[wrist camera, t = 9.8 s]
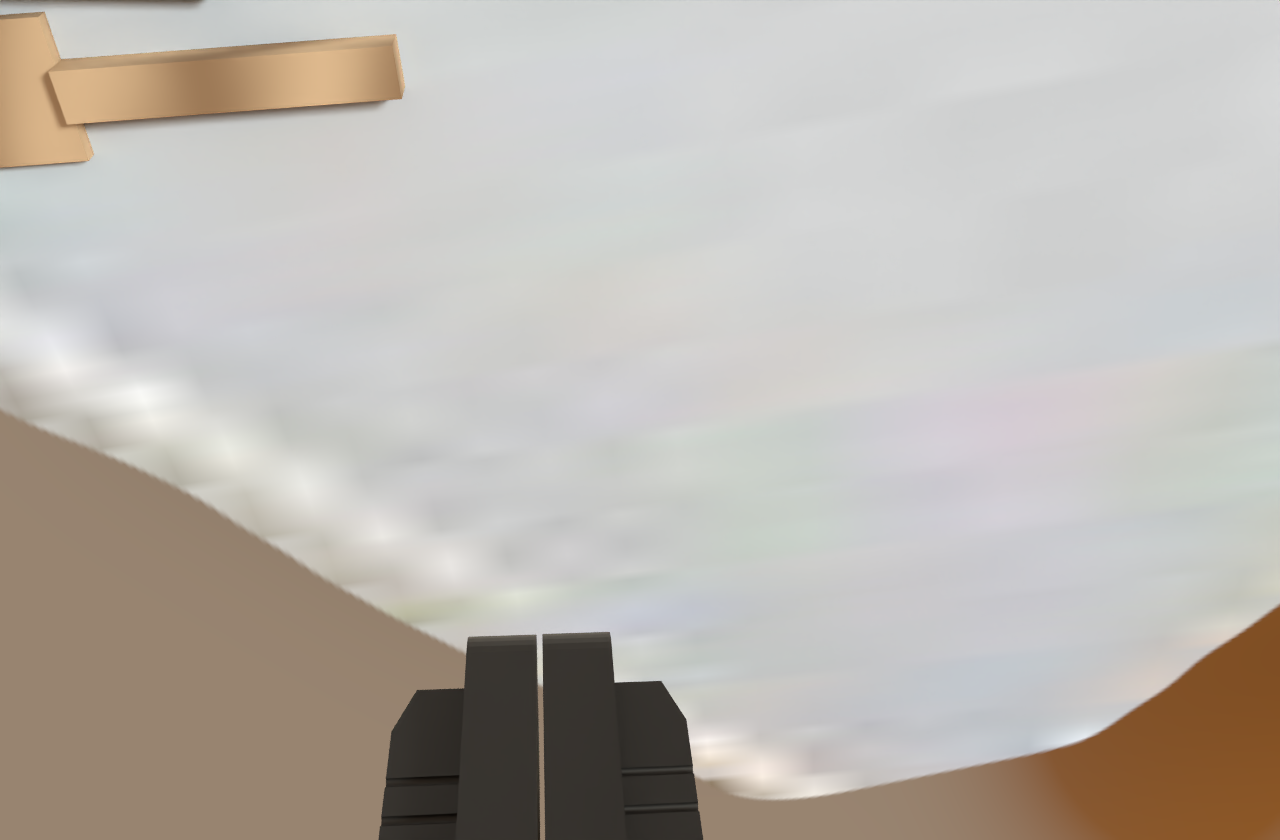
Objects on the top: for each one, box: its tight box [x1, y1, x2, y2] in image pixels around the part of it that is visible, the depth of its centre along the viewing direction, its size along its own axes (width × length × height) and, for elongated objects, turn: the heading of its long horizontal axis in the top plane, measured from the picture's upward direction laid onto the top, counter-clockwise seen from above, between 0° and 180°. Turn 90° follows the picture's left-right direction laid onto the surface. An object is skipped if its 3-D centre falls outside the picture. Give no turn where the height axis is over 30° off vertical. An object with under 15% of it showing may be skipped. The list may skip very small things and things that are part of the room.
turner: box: [0, 12, 405, 168], centre depth 34 cm, size 16×4×1 cm, turn 93°
